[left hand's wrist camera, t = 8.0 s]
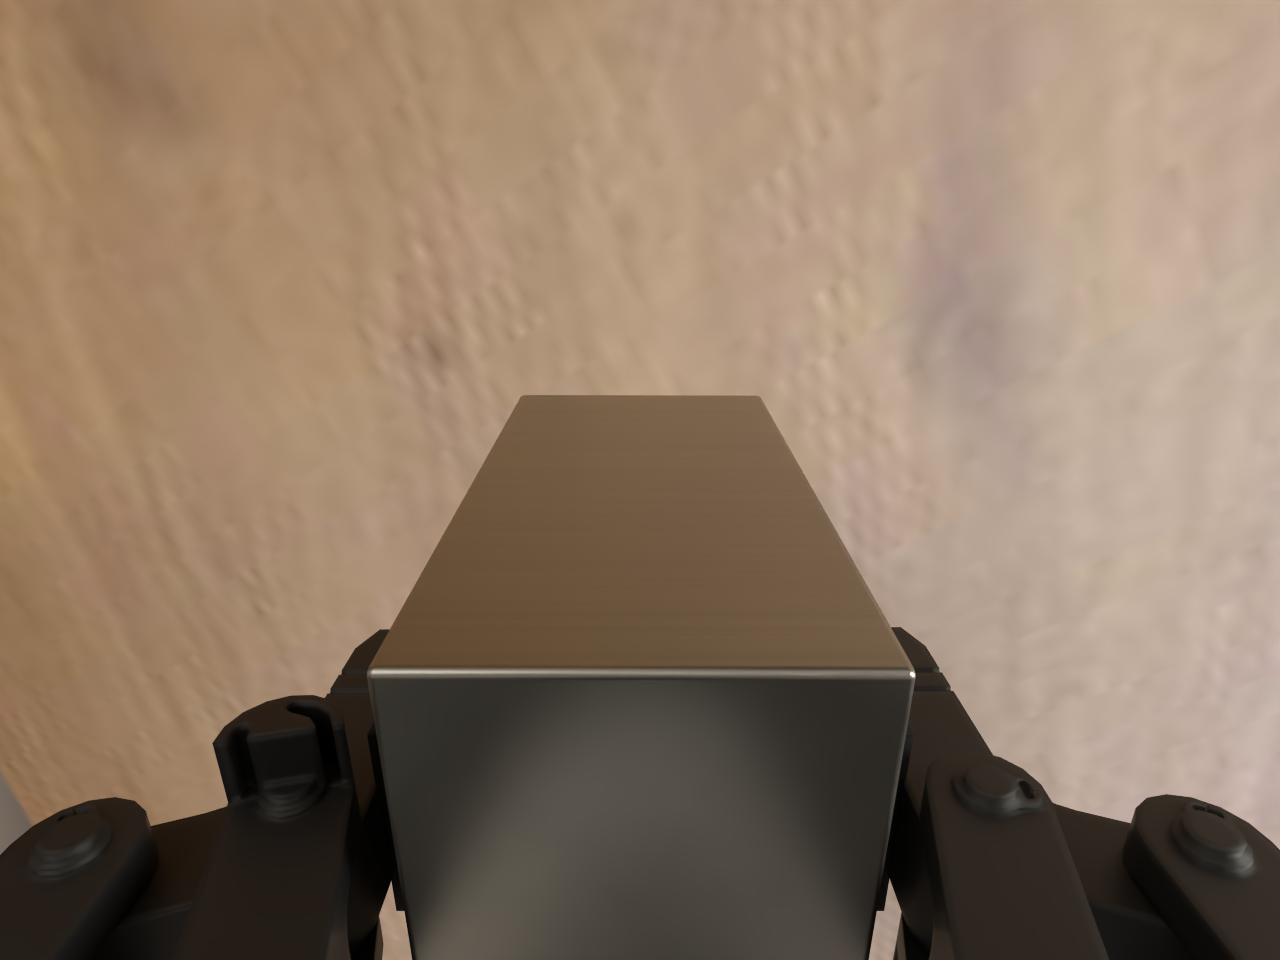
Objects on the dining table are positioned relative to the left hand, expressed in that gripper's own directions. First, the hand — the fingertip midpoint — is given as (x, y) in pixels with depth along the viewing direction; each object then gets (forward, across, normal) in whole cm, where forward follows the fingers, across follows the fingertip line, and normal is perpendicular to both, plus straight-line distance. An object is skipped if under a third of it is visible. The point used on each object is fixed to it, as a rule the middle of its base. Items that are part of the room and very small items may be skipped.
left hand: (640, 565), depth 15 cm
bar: (+1, 0, -9) cm, 9 cm away
